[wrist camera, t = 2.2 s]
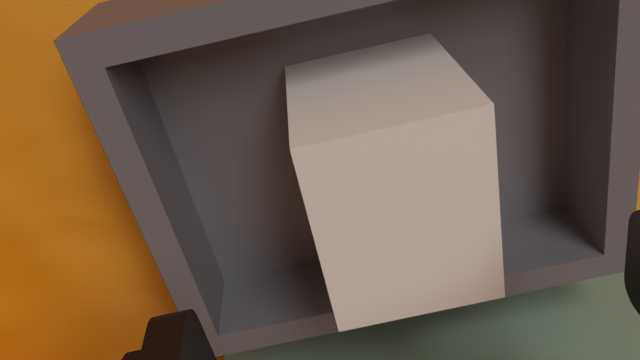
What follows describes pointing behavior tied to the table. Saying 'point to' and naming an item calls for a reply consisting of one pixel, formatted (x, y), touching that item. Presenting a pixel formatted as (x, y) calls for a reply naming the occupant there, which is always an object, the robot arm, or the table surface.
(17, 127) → the table surface
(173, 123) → the charcoal tub
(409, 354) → the sage green bin
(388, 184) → the pale pink block
